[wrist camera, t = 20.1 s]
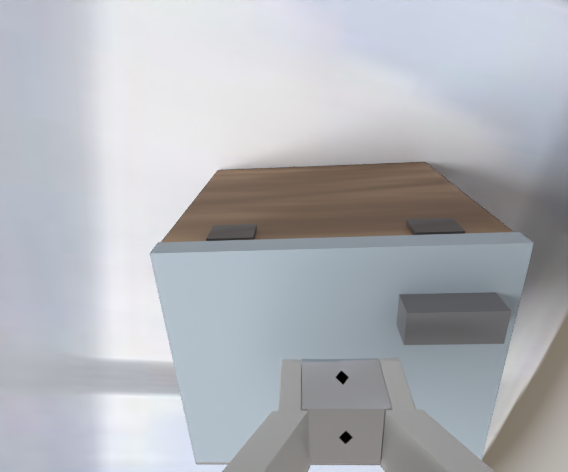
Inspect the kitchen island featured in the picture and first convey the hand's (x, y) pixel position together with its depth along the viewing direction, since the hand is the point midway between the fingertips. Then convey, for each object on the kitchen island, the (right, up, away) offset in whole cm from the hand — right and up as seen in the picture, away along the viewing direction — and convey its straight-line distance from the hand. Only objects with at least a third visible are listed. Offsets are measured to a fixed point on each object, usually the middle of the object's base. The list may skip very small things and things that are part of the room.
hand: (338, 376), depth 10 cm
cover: (0, -1, +5) cm, 5 cm away
